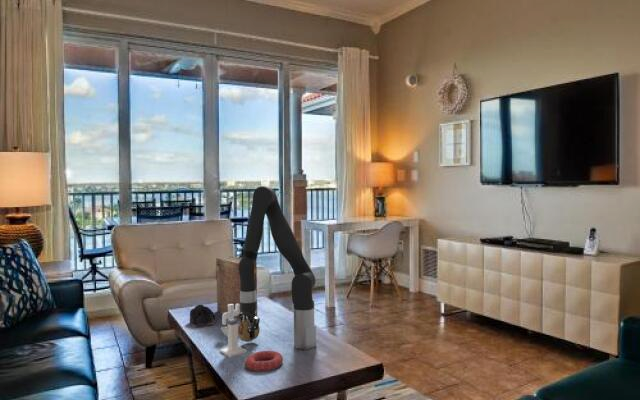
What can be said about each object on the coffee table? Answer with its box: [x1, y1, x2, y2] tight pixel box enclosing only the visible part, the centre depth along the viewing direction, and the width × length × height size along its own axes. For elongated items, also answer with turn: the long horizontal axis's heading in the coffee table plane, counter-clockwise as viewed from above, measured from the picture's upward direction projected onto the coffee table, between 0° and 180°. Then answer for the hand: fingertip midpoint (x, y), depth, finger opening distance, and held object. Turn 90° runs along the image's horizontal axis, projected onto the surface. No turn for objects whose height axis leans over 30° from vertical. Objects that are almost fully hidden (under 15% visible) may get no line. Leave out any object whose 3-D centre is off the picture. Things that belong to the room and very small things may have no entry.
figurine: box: [220, 304, 240, 337], centre depth 223 cm, size 7×9×15 cm
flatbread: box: [238, 320, 260, 343], centre depth 212 cm, size 10×4×10 cm, turn 129°
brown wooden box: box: [215, 256, 258, 319], centre depth 258 cm, size 25×9×30 cm, turn 45°
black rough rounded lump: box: [189, 304, 217, 328], centre depth 242 cm, size 14×14×10 cm
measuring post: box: [219, 318, 247, 358], centre depth 202 cm, size 8×8×14 cm
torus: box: [244, 350, 284, 372], centre depth 189 cm, size 16×14×4 cm
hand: (249, 337), depth 212 cm, fingers closed on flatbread, 3 cm apart
